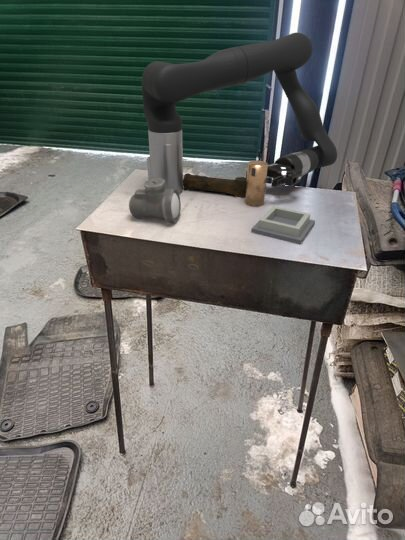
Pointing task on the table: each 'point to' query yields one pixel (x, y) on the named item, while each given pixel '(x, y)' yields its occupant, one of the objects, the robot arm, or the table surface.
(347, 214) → the table surface
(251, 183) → the copper cylinder
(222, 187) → the hand tool
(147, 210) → the pipe fitting
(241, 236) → the table surface
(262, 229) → the duct flange
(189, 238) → the table surface
